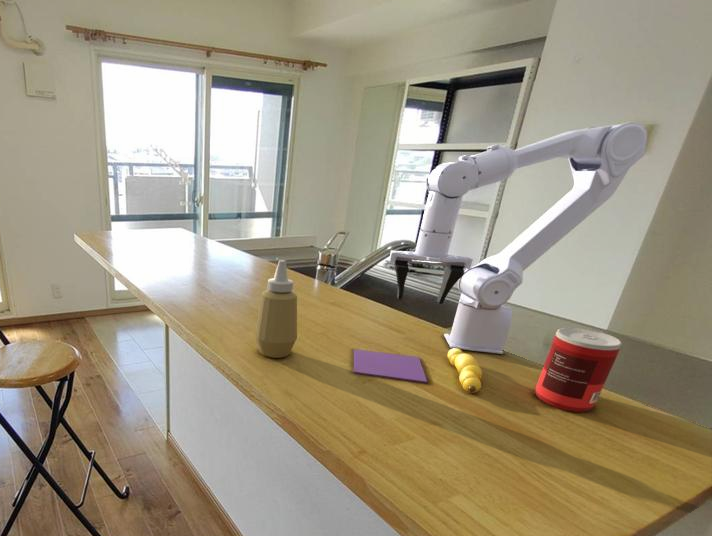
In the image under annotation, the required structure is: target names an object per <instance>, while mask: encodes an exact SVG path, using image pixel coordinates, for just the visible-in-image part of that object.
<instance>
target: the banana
mask: <svg viewBox="0 0 712 536" xmlns="http://www.w3.org/2000/svg"><path fill="white" fill-rule="evenodd" d="M447 359H448V361H449V363H450V365H452V366H453V367H455V369H456V370H457V372H458V374H459V376H458V380H459V383H460V385H461V386H462V389H463V390H464V391H466V392H468V393H471V394H475V393H477V392H479V391H480V389H481V388H482V383H481V382H482V381H480V380H481V379H482V377H483V371H482V369H481V367H480V365H479V364H478V363H477V361H476V359H475V358H474V357H473V356H472V355H471V354H469V353H464V352H463V350H462V349H458V348H450V349H449V350H448V352H447Z"/></svg>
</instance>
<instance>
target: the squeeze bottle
mask: <svg viewBox="0 0 712 536" xmlns="http://www.w3.org/2000/svg"><path fill="white" fill-rule="evenodd" d="M266 288H267V289H266V290H264V291H263V292H262V293H261V298H260V303H259V309H258V316H257V321H256V327H255V334H254V336H255V339H256V344H257V347H258V351H259V353H260V354H261V355H263V356H265V357H269V358H274V359H275V358H276V359H280V358H281V359H282V358H285V357H288V356H289V355H290V354H291V352H292V350H293V347H294V345H295V344H296V341H297V339H298V295H297V293H296V292H294V291H293V290H294V281H293V280H292V279H290V278H288V270H287V261H286V260H284V259H279V260H278V263H277V266H276V269H275V273H274V275H273V277H272V278H268V280H267V286H266Z"/></svg>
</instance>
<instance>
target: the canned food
mask: <svg viewBox="0 0 712 536" xmlns="http://www.w3.org/2000/svg"><path fill="white" fill-rule="evenodd" d="M621 347H622V341H621V340H620V339H618V338H616V337H615V336H612V335H610V334H607V333H604V332H601V331H598V330H594V329H593V330H591V329H586V328H581V327H563V328H562V327H561V328H558V329H557V330H556V332H555V335H554V338H553V340H552V342H551V345H550V348H549V351H548V353H547V357H546V358H545V362H544V364H543V367H542V370H541V373H540V376H539V378H538V381H537V383H536V385H535V396H536V397H537V398H538V400H540V401H541V402H543V403H545V404H547V405H548V406H550V407H553V408H555V409H559V410H563V411H568V412H574V413H584V412H589V411H590V410H592V409H593V407H595V405H596V404H597V402H598V400H599V397H600V395H601V394H602V393H601V392H602V390H603V388H604V386H605V384H606V381H607V379H608V377H609V375H610V373H611V371H612V369H613V366H614V364H615V362H616V360H617V357H618V356H619V352H620V351H621V350H620V349H621Z"/></svg>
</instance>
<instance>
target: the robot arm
mask: <svg viewBox="0 0 712 536" xmlns="http://www.w3.org/2000/svg"><path fill="white" fill-rule="evenodd" d="M647 140H648V133H647V129H646V127H645V126H644V125H643V124H642V123H640V122H638V121H637V122H636V121H627V122H624V123H621V124H620V123H619V124H613V125H604V126H589V127H586V128H582V129H576V130H575V129H574V130H569V131H564V132H562V133H559V134H556V135H553V136H549V137H547V138H545V139H542V140H540V141H536V142H534V143H531V144H528V145H525V146H522V147H519V148H517V149H512V148H510V147H509V146H507V145H501V146H500V144H492V145H489V146H487V147H486V150H485V151H483V152H479V153H476V154H472V155H470V156H468V155H467V154H464V155H461V156H459V157H458V160H457V161H456V162H443V163H440V164H438V165H437V166H435V168H434V169H433V170H431V172H430V174H429V176H428V177H426V179H425V186H426V190H427V191H428V197H427V201H426V205H425V208H424V213H423V216H422V221H421V225H420V229H419V234H418V238H417V244H416V247H415V250H414V251H408V250H406V251H404V250H390V252H389V257H388V261H389V263H393V266H394V271H395V275H396V276H395V277H396V284H397V285H396V286H397V292H396V293H397V294H396V298H397V300H403V297H404V291H405V284H406V281H407V277H408V273H409V271H410V268H409V264H414V265H415V264H417V265H428V266H438V267H444V271H443V276H442V281H441V286H440V289H439V292H438V294H437V299H436V302H437V303H438V305H443V304H444V302H445V299H446V298H447V296H448V294H449V293H450V291H451V290H452V289H453V287H454V286H455V284H456V283H457V288H458V291H459V292H460V298H459V300H458V304H457V308H456V312H455V315H454V320H453V323H452V327H451V331H450V333H444V334H443V337H444V338H445V340H446V342H447V344H448V345H449V348H450V349H453V348H458V349H460V350H462V351H463V350H465V351H473V352H481V353H488V354H497V355H498V354H499V355H503V354H504V351H503V349H504V346H505V344H506V340H507V337H508V334H509V331H510V329H511V324H512V320H513V311H512V308H511V307H510V306H507V305H506V306H505V304H507V303H508V301H509V300H510V299H511V297H512V296H513V294H514V292H515V291H516V289H517V288H519V286H521V285H522V284H523V281H524V274H523V273H524V271H525V270H527V269H528V268H529V267H531V265H533V264H534V263H535V262H536V261H537V260H539V258H541V257H542V256H543V255H544V254H545V253H547V252H548V251H549V250H550V249H551V248H553V247H554V246H555V245H557V243H558V242H560V241H561V240H563V238H565V237H566V236H567V235H568V234H569V233H570V232H572V231H573V230H574V229H575V228H576V227H577V226H579V225H580V224H581V223H582V222H583V221H584V220H586V219H587V218H588V217H589V216H591V214H593V213H594V212H595V211H597V209H599V208H600V207H601V206H602V205H603V204H605V203H606V202H607V201H608V200H609V199H611V197H613V195H614V194H615V193H616V191H617V190H618V188H619V186H620V185H621V183H622V181H623V180H624V178H625V177H626V175H627V174H628V172H629V171H630V169H631V168H632V167H633V166H634V165H635V164H637V163H638V162H639V161H640V160H641V159H642V158H643V157H644V156H646V148H647ZM558 158H561V159H568V163H569V167H570V171H571V175H572V179H573V187H572V189H571V190H569V191H568V192H567V193H566V194H565V195H564V196H563V197H561V199H559V200H558V201H557V202H556V203H555V204H554V205H552V206H551V207H550V208H549V209H548V210H547V211H545V212H544V213H543V214H542V215H541V216H540V217H539V218H537V220H535V221H534V222H533V223H532V224H531V225H529V226H528V228H526V229H525V230H524V231H523V232H521V233H520V235H518V236H517V237H516V238H515V239H514V240H512V242H511V243H509V244H508V245H507V246H506V247H505V248H504V249H502V250H501V251H500V252H499V253H497V254H495V255H492V256H488V257H486V258H484V259H482V260H481V261H480V262H479V263H478V264H476V265H474V266H472V264H473V258H472V257H469V256H460V255H452V254H449V251H450V248H451V247H450V246H451V243H452V239H453V235H454V232H455V227H456V223H457V220H458V216H459V212H460V209H461V204H462V202H463V201H462V200H463V197H464V196H465V195H466V194H468V192H469V191H472V190H475V189H479V188H482V187H485V186H489V185H492V184H496V183H499V182H502V181H505V180H508V179H509V178H511V176H513V174H514V172H515V171H517V169H520V168H524V167H528V166H532V165H536V164H540V163H542V162H543V163H544V162H546V161H550V160H553V159H558Z"/></svg>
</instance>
